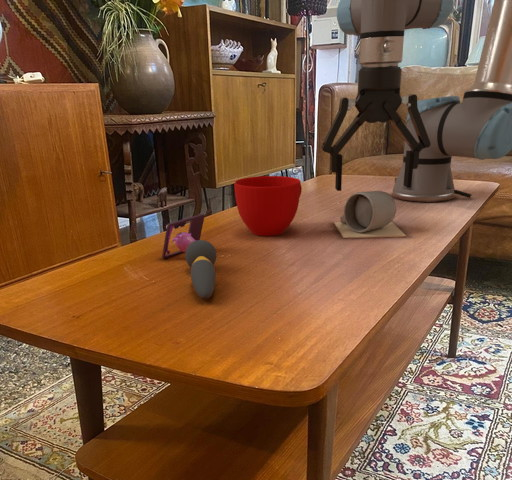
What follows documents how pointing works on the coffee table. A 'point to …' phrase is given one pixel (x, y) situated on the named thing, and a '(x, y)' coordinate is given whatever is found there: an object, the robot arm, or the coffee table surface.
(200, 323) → the coffee table surface
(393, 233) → the coaster
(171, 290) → the coffee table surface
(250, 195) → the ceramic cup
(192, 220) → the purple open frame
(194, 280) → the grey wand massager
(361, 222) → the ceramic mug
